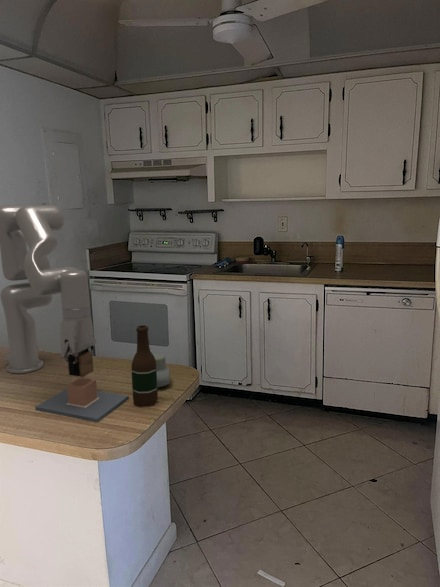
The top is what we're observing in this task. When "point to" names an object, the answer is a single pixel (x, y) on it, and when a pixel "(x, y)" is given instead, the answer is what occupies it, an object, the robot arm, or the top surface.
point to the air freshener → (162, 370)
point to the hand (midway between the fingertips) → (81, 371)
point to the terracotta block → (82, 391)
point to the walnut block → (84, 363)
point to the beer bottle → (144, 371)
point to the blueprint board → (89, 412)
